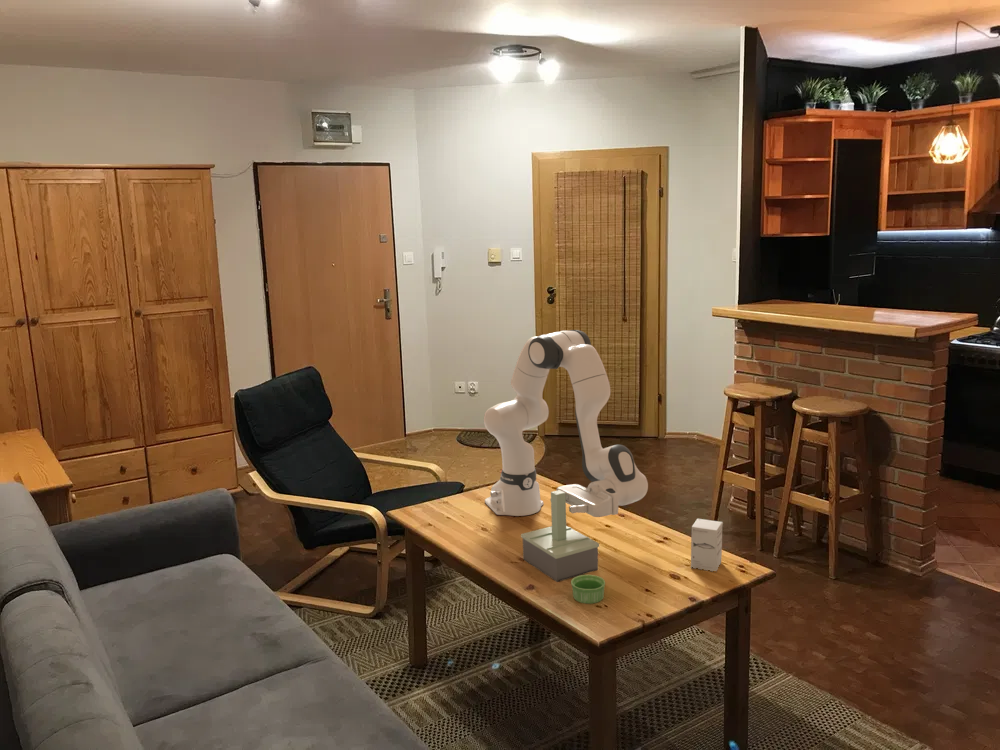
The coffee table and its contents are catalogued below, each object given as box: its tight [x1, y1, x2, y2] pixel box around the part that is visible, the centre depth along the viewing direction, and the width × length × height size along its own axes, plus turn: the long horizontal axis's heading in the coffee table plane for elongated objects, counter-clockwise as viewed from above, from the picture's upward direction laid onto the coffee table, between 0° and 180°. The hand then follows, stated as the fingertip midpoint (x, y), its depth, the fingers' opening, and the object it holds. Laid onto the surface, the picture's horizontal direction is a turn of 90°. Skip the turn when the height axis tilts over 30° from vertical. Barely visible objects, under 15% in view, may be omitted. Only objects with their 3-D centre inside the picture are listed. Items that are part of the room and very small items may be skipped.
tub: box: [522, 538, 599, 583], centre depth 230 cm, size 18×14×7 cm
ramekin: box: [570, 574, 606, 605], centre depth 210 cm, size 9×9×4 cm
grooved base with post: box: [520, 489, 600, 559], centre depth 228 cm, size 19×15×15 cm
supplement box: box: [690, 518, 724, 572], centre depth 225 cm, size 7×7×13 cm
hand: (561, 505), depth 228 cm, fingers open, 8 cm apart
